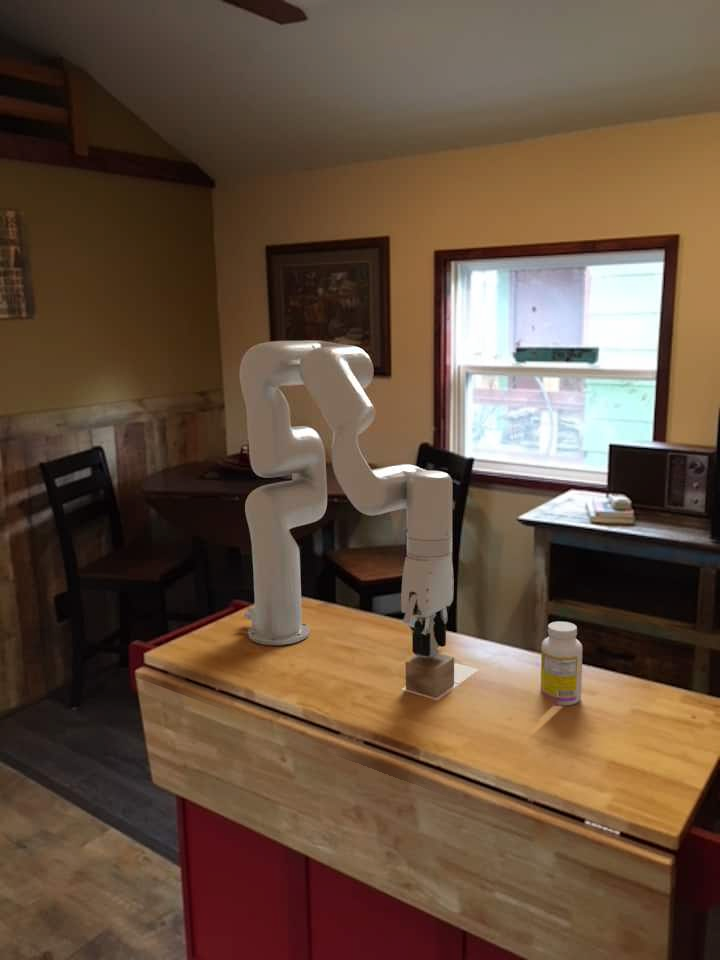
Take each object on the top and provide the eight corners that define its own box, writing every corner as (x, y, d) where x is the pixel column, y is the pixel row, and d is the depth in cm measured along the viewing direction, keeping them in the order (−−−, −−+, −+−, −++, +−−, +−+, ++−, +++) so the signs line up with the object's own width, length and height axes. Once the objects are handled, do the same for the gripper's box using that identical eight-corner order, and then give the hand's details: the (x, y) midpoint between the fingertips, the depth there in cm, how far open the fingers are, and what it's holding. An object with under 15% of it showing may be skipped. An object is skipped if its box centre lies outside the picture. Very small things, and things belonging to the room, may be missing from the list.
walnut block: (405, 689, 138) (405, 661, 137) (424, 676, 142) (424, 649, 141) (436, 697, 134) (436, 669, 133) (454, 684, 139) (454, 657, 138)
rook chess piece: (438, 659, 135) (438, 614, 134) (411, 658, 136) (412, 612, 134) (439, 649, 140) (440, 605, 138) (414, 647, 140) (414, 603, 139)
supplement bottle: (554, 686, 141) (556, 616, 138) (588, 697, 136) (591, 625, 134) (532, 698, 136) (534, 626, 134) (567, 711, 132) (569, 636, 129)
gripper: (436, 531, 143) (435, 629, 146) (381, 554, 129) (383, 661, 133) (473, 537, 138) (472, 638, 142) (421, 561, 125) (421, 672, 128)
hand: (429, 648), depth 137 cm, fingers closed on rook chess piece, 4 cm apart
